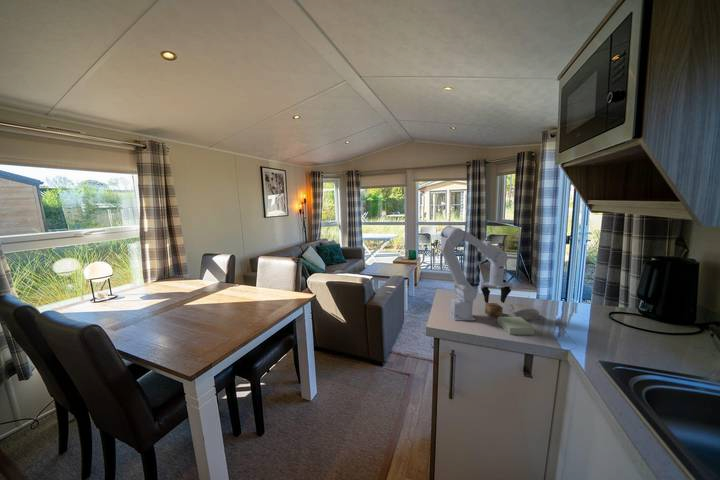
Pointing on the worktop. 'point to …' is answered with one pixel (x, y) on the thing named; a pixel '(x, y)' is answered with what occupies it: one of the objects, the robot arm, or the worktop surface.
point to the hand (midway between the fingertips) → (494, 302)
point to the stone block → (524, 311)
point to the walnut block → (493, 310)
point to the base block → (516, 326)
